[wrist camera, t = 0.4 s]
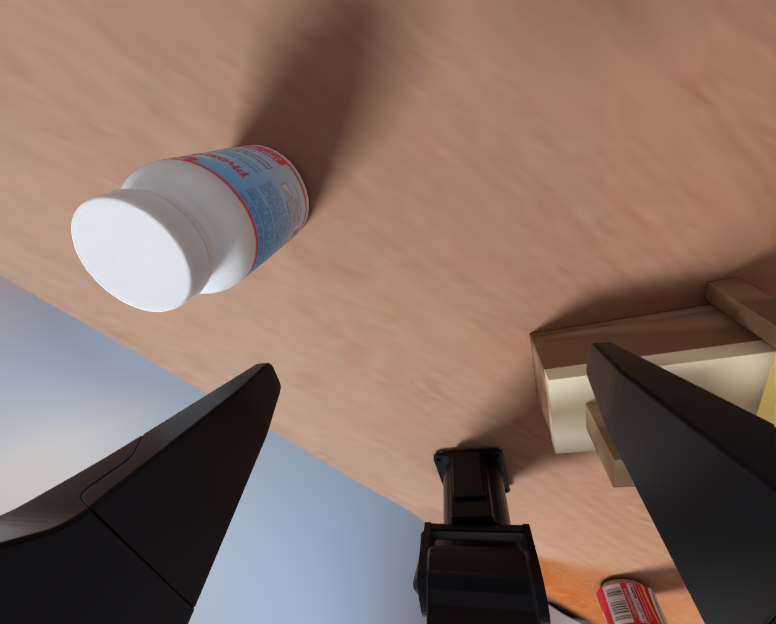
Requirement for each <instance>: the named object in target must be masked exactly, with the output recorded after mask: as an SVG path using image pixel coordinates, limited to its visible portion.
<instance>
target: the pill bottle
mask: <svg viewBox="0 0 776 624" xmlns="http://www.w3.org/2000/svg"><path fill="white" fill-rule="evenodd" d="M308 212H309V200H308V194H307V190H306V187H305V185H304V183H303V180H302V178H301V176H300V174H299V173H298V171H297V170H296V168H295V167H294V166H293V164H292V163H291V162H290V161H289V160H288V159H287V158H286V157H284V156H283V155H282V154H280V153H279V152H277V151H275V150H273V149H271V148H269V147H265V146H261V145H245V146H239V147H233V148H228V149H222V150H216V151H211V152H204V153H199V154H192V155H187V156H182V157H175V158H170V159H164V160H159V161H156V162H152V163H149V164H146V165H144V166H142V167H140V168H138V169H137V170H135V171H134V172H133V173H132V174H131V175H130V176H129V177H128V178H127V179H126V181H125V183H124V184H123V186H122V188H121V189H119V190H115V191H113V192H110V193H108V194H104V195H100V196H97V197H93V198H91V199H89V200H87V201H85V202H84V203H82V204H81V205H80V206H79V207H78V208H77V210H76V212H75V214H74V216H73V219H72V224H71V233H72V239H73V243H74V246H75V249H76V252H77V254H78V256H79V258H80V260H81V262H82V263H83V265H84V266H85V268H86V269H87V271H88V272H89V273H90V274H91V275H92V277H93V278H94V279H95V280H96V281H97V282H98V283H99V284H100V285H101V286H102V287H103V288H104V289H105V290H107V291H108V292H109V293H110V294H112V295H113V296H114V297H116V298H117V299H119V300H121V301H123V302H124V303H126V304H128V305H130V306H133V307H136V308H138V309H142V310H146V311H152V312H164V311H169V310H173V309H175V308H177V307H179V306H181V305H182V304H184V303H185V302H187V301H188V300H190V299H191V298H193V297H195V296H197V295H198V294H199V293H202V294H208V293H216V292H220V291H224V290H226V289H229V288H231V287H233V286H234V285H236V284H237V283H239V282H240V281H241V280H243V279H244V278H245V277H246V276H247V275H249V274H250V273H251V272H252V271H254V270H255V269H256V268H257V267H258V266H260V265H261V264H262V263H263V262H264V261H266V260H267V259H268V258H269V257H271V256H272V255H273V254H274V253H275V252H277V251H278V250H279V249H280V248H281V247H283V246H284V245H285V244H286V243H287V242H289V241H290V240H291V239H292V238H293V237H295V236H296V235H297V234H298V233H299V232H300V230H301V229H302V228H303V226H304V224H305V222H306V220H307V217H308Z"/></svg>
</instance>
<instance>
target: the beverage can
mask: <svg viewBox="0 0 776 624" xmlns="http://www.w3.org/2000/svg"><path fill="white" fill-rule="evenodd" d="M597 596H598V599H599V603H600V606H601V609H602V612H603V615H604V618H605V621H606V624H668V623H667V621H666V618H665V616H664V614H663V612H662V609H661V607H660V605H659V603H658V601H657V598H656V596H655V594H654V592H653V591H652V590H651V589H650V588H648V587H646V586H644V585H642V584H641V583H639V582H637V581H634V580H629V579H614V580H610V581H607V582H605V583H604V584H603V585H602V587H601V588H600V589H599V590H598V591H597Z"/></svg>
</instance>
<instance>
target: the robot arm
mask: <svg viewBox="0 0 776 624" xmlns="http://www.w3.org/2000/svg"><path fill="white" fill-rule="evenodd" d="M586 372H587V377H588V380H589V382H590V385H591V388H592V391H593V393H594V396H595V399H596V402H597V404H598V407H599V410H600V413H601V415H602V418H603V421H604V424H605V426H606V429H607V431H608V433H609V435H610V437H611V439H612V441H613V443H614V445H615V447H616V449H617V451H618V453H619V455H620V457H621V459H622V461H623V463H624V465H625V467H626V469H627V471H628V473H629V475H630V477H631V479H632V481H633V483H634V485H635V487H636V489H637V491H638V493H639V495H640V496H641V498H642V500H643V502H644V504H645V506H646V508H647V510H648V512H649V514H650V516H651V518H652V520H653V522H654V524H655V526H656V528H657V530H658V532H659V534H660V536H661V538H662V540H663V542H664V544H665V546H666V548H667V550H668V552H669V554H670V556H671V558H672V559H673V561H674V563H675V565H676V567H677V569H678V571H679V573H680V575H681V577H682V579H683V581H684V583H685V585H686V587H687V589H688V591H689V593H690V595H691V597H692V599H693V601H694V603H695V605H696V607H697V609H698V611H699V613H700V615H701V617H702V619H703V621H704V623H705V624H776V427H775V426H774V424H773V423H771V422H769V421H767V420H765V419H763V418H761V417H759V416H757V415H755V414H753V413H751V412H749V411H747V410H745V409H743V408H741V407H739V406H737V405H735V404H733V403H731V402H729V401H727V400H725V399H723V398H721V397H719V396H717V395H715V394H713V393H711V392H709V391H707V390H705V389H703V388H701V387H699V386H697V385H695V384H693V383H691V382H689V381H687V380H685V379H683V378H681V377H679V376H677V375H675V374H673V373H671V372H670V371H668V370H666V369H664V368H662V367H660V366H658V365H656V364H654V363H652V362H650V361H648V360H646V359H644V358H642V357H640V356H638V355H636V354H634V353H632V352H630V351H628V350H626V349H624V348H622V347H620V346H618V345H616V344H614V343H612V342H610V341H601V342H592V343H591V344H590V346H589V350H588V358H587V366H586ZM280 389H281V385H280V382H279V379H278V377H277V375H276V373H275V370H274V368H273V366H272V365H271V364H269V363H262V364H256V365H254V366H253V367H251V368H250V369H248V370H246V371H245V372H243V373H242V374H240V375H238V376H237V377H235V378H234V379H232V380H230V381H229V382H227V383H225V384H224V385H222V386H221V387H219V388H217V389H216V390H214V391H213V392H211V393H209V394H208V395H206V396H205V397H203V398H201V399H200V400H198V401H196V402H195V403H193V404H192V405H190V406H189V407H187V408H185V409H184V410H182V411H181V412H179V413H177V414H176V415H174V416H173V417H171V418H169V419H168V420H166V421H164V422H163V423H161V424H159V425H158V426H156V427H155V428H153V429H151V430H150V431H148V432H147V433H145V434H144V435H143V436H140V437H138V438H137V439H135V440H134V441H132V442H130V443H129V444H127V445H125V446H124V447H122V448H121V449H119V450H117V451H116V452H114V453H112V454H111V455H109V456H107V457H106V458H104V459H102V460H100V461H99V462H97V463H95V464H94V465H92V466H90V467H88V468H87V469H85V470H83V471H81V472H80V473H78V474H76V475H75V476H73V477H71V478H69V479H67V480H66V481H64V482H62V483H60V484H59V485H57V486H55V487H53V488H51V489H50V490H48V491H46V492H44V493H43V494H41V495H39V496H37V497H35V498H34V499H32V500H30V501H28V502H27V503H25V504H23V505H21V506H19V507H17V508H16V509H14V510H12V511H10V512H7V513H5V514H3V515H1V516H0V624H188V623H189V620H190V618H191V615H192V613H193V611H194V607H195V606H196V603H197V601H198V598H199V596H200V594H201V591H202V589H203V587H204V584H205V582H206V579H207V577H208V574H209V572H210V570H211V567H212V565H213V563H214V560H215V558H216V555H217V553H218V550H219V548H220V546H221V543H222V541H223V539H224V536H225V534H226V532H227V529H228V527H229V524H230V522H231V519H232V517H233V515H234V512H235V510H236V508H237V505H238V503H239V500H240V498H241V496H242V493H243V491H244V488H245V486H246V484H247V481H248V479H249V477H250V474H251V472H252V469H253V467H254V465H255V462H256V459H257V457H258V455H259V453H260V450H261V448H262V445H263V443H264V440H265V438H266V435H267V432H268V429H269V426H270V423H271V420H272V417H273V413H274V410H275V407H276V403H277V400H278V397H279V393H280ZM434 462H435V464H436V467H437V470H438V473H439V475H440V478H441V481H442V483H443V487H444V524H435V523H431V522H425V526H424V532H422V533H421V547H420V555H419V561H418V564H417V569H416V572H415V576H414V581H413V587H414V590H415V591H416V593H417V594H418V596H419V601H420V607H421V612H422V615H423V617H427V624H550V615H549V608H548V602H547V596H546V591H545V586H544V581H543V577H542V573H541V569H540V565H539V561H538V557H537V553H536V549H535V545H534V541H533V538H532V534H531V530H530V526H529V524H522V525H511V523H510V517H509V511H508V505H507V499H506V494H505V493H508V492H509V491H510V487H509V483H508V478H507V473H506V469H505V464H504V460H503V455H502V451H501V450H500V449H498V448H493V449H480V450H468V451H455V452H442V453H436V454H434Z"/></svg>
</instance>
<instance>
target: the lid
mask: <svg viewBox="0 0 776 624" xmlns="http://www.w3.org/2000/svg"><path fill="white" fill-rule="evenodd" d="M775 353H776V348H775V347H773V346H772V345H770V344H769V343H767V342H766V341H765V340H759V341H752V342H744V343H737V344H729V345H722V346H715V347H707V348H700V349H692V350H685V351H678V352H670V353H663V354H655V355H648V356H641V357H642V358H644V359H646V360H648V361H650V362H652V363H654V364H656V365H658V366H660V367H662V368H664V369H666V370H668V371H670V372H671V373H673V374H675V375H677V376H679V377H681V378H683V379H685V380H687V381H689V382H691V383H693V384H695V385H697V386H699V387H701V388H703V389H705V390H707V391H709V392H711V393H713V394H715V395H717V396H719V397H721V398H723V399H725V400H727V401H729V402H731V403H733V404H735V405H737V406H739V407H741V408H743V409H745V410H747V411H749V412H751V413H753V414H755V415H757V411H758V408H759V405H760V402H761V398H762V395H763V392H764V389H765V385H766V382H767V379H768V376H769V372H770V369H771V366H772V363H773V359H774V356H775ZM586 366H587V364H581V365H574V366H567V367H559V368H552V369H544V372H545V382H546V391H547V400H548V410H549V419H550V429H551V438H552V444H553V447H554V449H555V452H556V454H560V453H574V452H588V451H597V453H598V455H599V457H600V459H601V462H602V464H603V466H604V468H605V470H606V472H607V475H608V477H609V479H610V481H611V483H612V485H613V487H634V486H635V485H634V483H633V481H632V479H631V477H630V475H629V473H628V471H627V469H626V467H625V465H624V463H623V461H622V459H621V457H620V455H619V453H618V451H617V449H616V447H615V445H614V443H613V441H612V439H611V437H610V435H609V433H608V431H607V429H606V426H605V424H604V421H603V418H602V415H601V413H600V410H599V407H598V404H597V402H596V399H595V396H594V393H593V391H592V388H591V385H590V382H589V380H588V377H587V372H586Z"/></svg>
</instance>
